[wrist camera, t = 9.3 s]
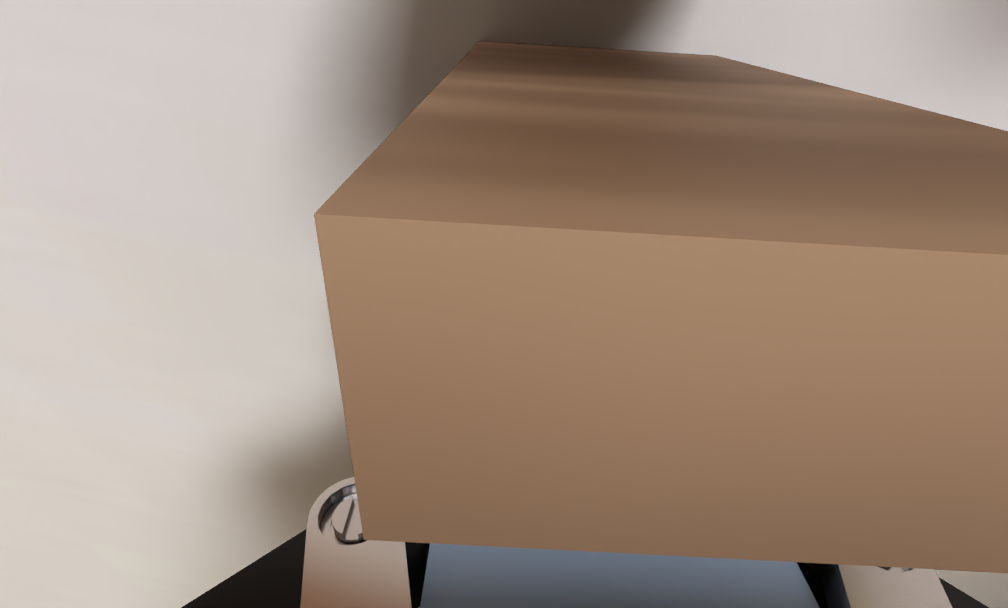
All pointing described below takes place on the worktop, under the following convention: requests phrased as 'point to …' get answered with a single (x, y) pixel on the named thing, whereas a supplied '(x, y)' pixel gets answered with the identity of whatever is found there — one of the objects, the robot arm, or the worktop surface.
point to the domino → (675, 316)
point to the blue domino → (605, 580)
